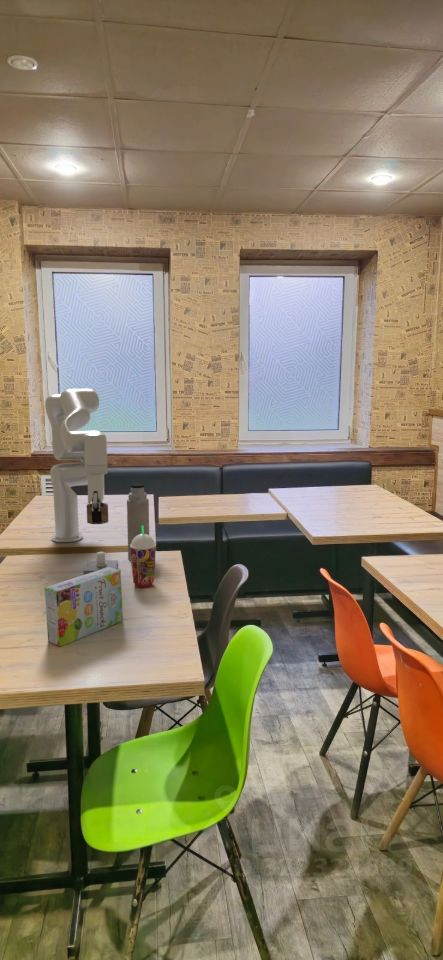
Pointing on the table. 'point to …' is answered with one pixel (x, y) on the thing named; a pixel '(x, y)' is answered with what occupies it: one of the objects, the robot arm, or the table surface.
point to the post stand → (99, 564)
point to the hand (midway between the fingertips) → (97, 519)
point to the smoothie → (143, 560)
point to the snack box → (83, 605)
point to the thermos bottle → (137, 513)
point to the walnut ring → (103, 513)
